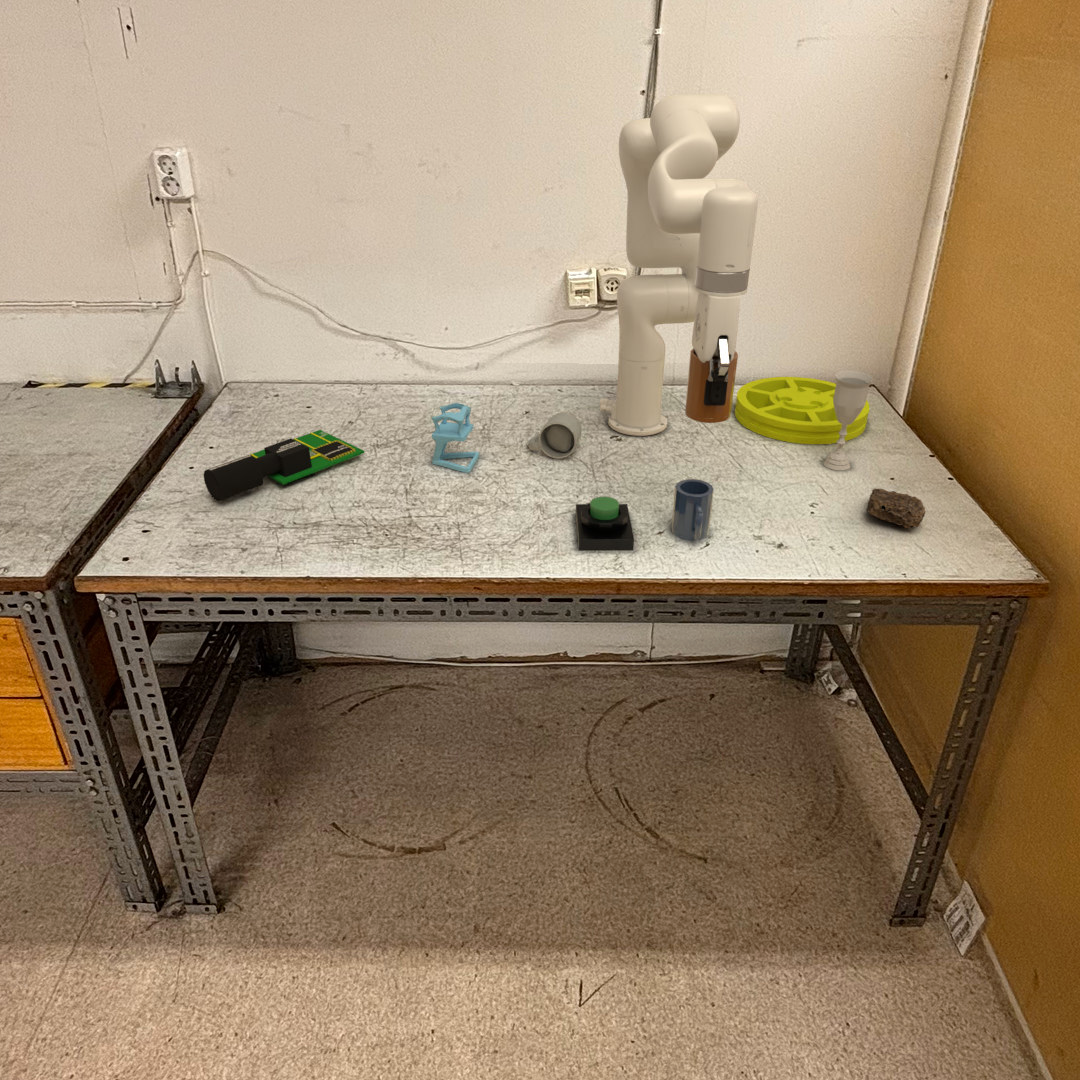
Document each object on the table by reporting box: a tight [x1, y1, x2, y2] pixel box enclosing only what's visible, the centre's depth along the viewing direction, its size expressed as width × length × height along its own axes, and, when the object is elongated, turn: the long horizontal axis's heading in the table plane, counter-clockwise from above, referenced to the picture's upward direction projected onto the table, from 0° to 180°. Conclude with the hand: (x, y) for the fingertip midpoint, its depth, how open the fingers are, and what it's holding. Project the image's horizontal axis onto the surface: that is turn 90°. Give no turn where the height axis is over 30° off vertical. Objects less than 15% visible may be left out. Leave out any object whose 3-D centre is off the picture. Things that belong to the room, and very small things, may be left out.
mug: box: [671, 478, 714, 542], centre depth 144 cm, size 9×6×8 cm
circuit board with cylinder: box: [203, 429, 365, 503], centre depth 165 cm, size 30×7×15 cm
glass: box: [684, 347, 739, 424], centre depth 133 cm, size 7×7×10 cm
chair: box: [431, 402, 480, 474], centre depth 167 cm, size 8×8×12 cm
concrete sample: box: [866, 488, 926, 529], centre depth 150 cm, size 12×10×5 cm
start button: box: [589, 496, 620, 520], centre depth 145 cm, size 5×5×2 cm
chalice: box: [823, 369, 874, 471], centre depth 165 cm, size 7×7×18 cm
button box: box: [575, 502, 635, 552], centre depth 146 cm, size 12×9×4 cm
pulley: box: [734, 376, 870, 445], centre depth 188 cm, size 28×28×5 cm
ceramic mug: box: [527, 411, 583, 460], centre depth 173 cm, size 11×8×8 cm
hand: (709, 394), depth 134 cm, fingers closed on glass, 7 cm apart
